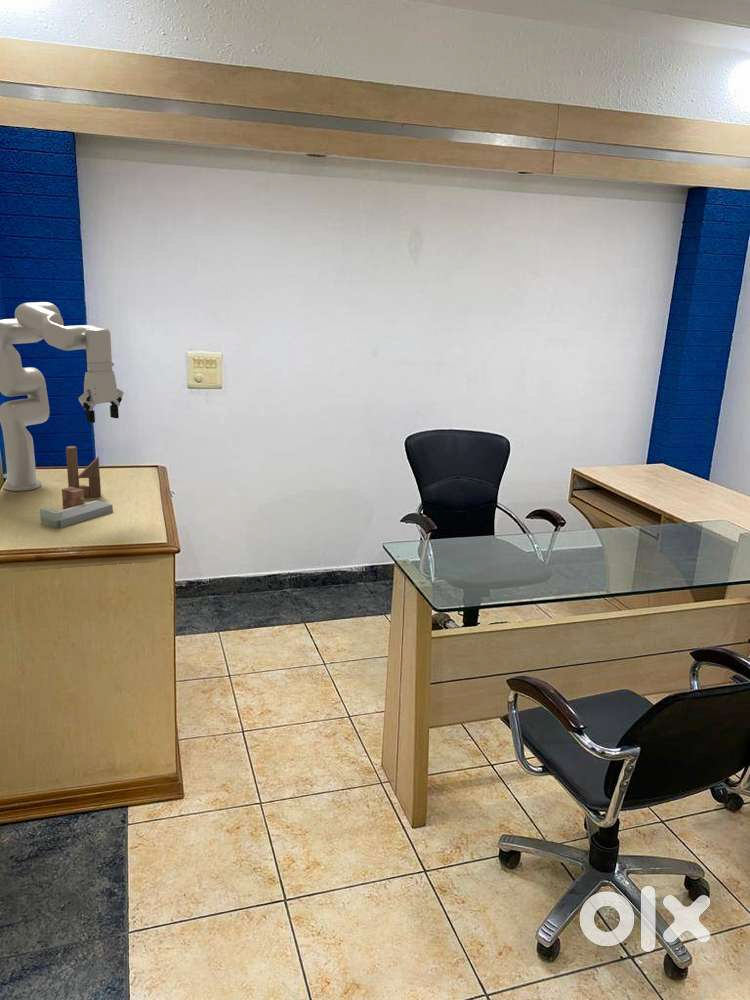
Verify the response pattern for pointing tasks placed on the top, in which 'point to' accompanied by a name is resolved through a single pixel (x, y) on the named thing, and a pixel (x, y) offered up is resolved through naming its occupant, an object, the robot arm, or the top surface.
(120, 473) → the top surface
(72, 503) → the brown block
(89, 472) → the brown forked upright piece
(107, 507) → the grey board
